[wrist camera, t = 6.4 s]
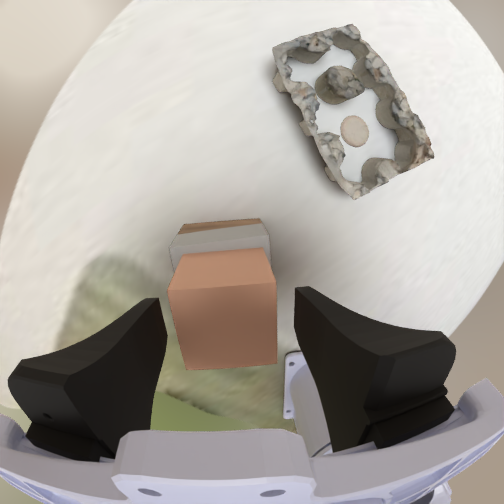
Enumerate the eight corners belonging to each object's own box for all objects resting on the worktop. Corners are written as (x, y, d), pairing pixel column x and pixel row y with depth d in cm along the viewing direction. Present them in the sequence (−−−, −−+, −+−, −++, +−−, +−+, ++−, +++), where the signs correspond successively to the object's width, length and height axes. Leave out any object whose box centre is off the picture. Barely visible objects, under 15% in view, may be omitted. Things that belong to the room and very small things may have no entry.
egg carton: (406, 160, 18) (440, 164, 14) (327, 200, 18) (352, 212, 14) (346, 35, 14) (372, 14, 10) (255, 63, 15) (264, 39, 11)
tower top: (269, 299, 17) (276, 320, 15) (192, 308, 17) (188, 330, 15) (262, 223, 16) (268, 234, 13) (177, 234, 16) (168, 247, 13)
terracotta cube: (265, 315, 15) (277, 363, 11) (194, 321, 15) (186, 369, 11) (263, 247, 14) (276, 281, 10) (182, 254, 13) (167, 290, 10)
